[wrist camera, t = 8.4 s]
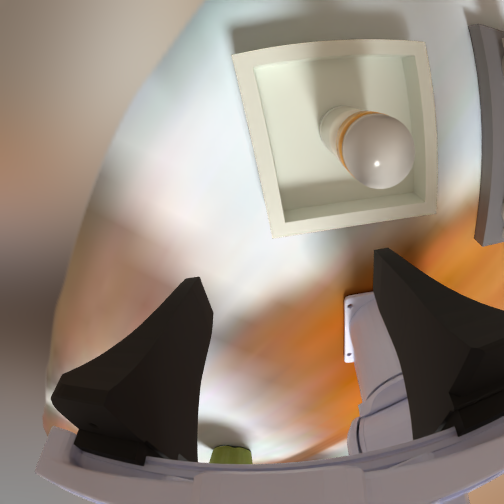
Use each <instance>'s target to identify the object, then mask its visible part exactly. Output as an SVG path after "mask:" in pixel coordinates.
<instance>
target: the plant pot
mask: <svg viewBox="0 0 504 504" xmlns="http://www.w3.org/2000/svg"><path fill="white" fill-rule="evenodd" d="M209 463H215V464H252V456H251V452H250V451H249V450H247V449H244V448H241V447H237V448H233V447H231V446H220V447H216V448H214V450H213V452H212V455H211V459H210V462H209Z"/></svg>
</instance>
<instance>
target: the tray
mask: <svg viewBox="0 0 504 504" xmlns="http://www.w3.org/2000/svg"><path fill="white" fill-rule="evenodd" d="M231 56H232V60H233V64H234V68H235V72H236V76H237V80H238V84H239V89H240V93H241V97H242V101H243V106H244V110H245V114H246V118H247V123H248V127H249V132H250V136H251V140H252V145H253V149H254V154H255V158H256V163H257V167H258V172H259V177H260V181H261V186H262V190H263V195H264V200H265V205H266V209H267V214H268V219H269V224H270V229H271V233H272V238H273V239H274V238H280V237H287V236H293V235H299V234H306V233H312V232H318V231H325V230H331V229H338V228H344V227H351V226H357V225H364V224H370V223H377V222H384V221H391V220H397V219H404V218H411V217H418V216H424V215H431V214H436V207H437V183H438V152H437V129H436V115H435V104H434V95H433V87H432V79H431V73H430V66H429V61H428V55H427V50H426V45H425V42H420V41H407V40H388V39H349V40H329V41H317V42H306V43H297V44H290V45H282V46H276V47H269V48H264V49H258V50H253V51H248V52H243V53H238V54H234V55H231ZM340 105H346V106H351V107H355V108H358V109H363V110H367V111H375V112H379V113H383V114H386V115H389V116H391V117H394V118H396V119H397V120H399V121H400V122H402V123H403V124H404V125H405V126H406V127H407V129H408V130H409V132H410V134H411V135H412V138H413V141H414V145H415V158H414V163H413V166H412V168H411V170H410V172H409V173H408V175H407V176H406V177H405V178H404V179H403V180H402V181H401V182H400V183H398V184H397V185H395V186H392V187H390V188H385V189H374V188H370V187H367V186H365V185H363V184H362V183H360V182H359V181H358V180H357V179H355V178H354V177H353V176H352V175H351V174H350V173H349V172H348V171H347V169H346V168H345V167H344V166H343V165H342V163H341V162H340V161H339V160H338V159H337V157H336V156H335V155H334V154H333V153H332V152H331V151H329V150H328V149H327V148H326V147H325V145H324V144H323V142H322V141H321V138H320V135H319V124H320V121H321V118H322V117H323V115H324V114H325V113H326V112H327V111H328V110H329V109H331V108H333V107H335V106H340Z"/></svg>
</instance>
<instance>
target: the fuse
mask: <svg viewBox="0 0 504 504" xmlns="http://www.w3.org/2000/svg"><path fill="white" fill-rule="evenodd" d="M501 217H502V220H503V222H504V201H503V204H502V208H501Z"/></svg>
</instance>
